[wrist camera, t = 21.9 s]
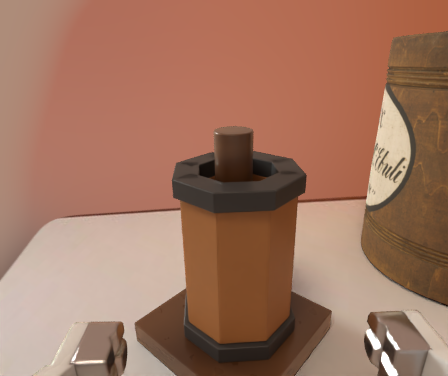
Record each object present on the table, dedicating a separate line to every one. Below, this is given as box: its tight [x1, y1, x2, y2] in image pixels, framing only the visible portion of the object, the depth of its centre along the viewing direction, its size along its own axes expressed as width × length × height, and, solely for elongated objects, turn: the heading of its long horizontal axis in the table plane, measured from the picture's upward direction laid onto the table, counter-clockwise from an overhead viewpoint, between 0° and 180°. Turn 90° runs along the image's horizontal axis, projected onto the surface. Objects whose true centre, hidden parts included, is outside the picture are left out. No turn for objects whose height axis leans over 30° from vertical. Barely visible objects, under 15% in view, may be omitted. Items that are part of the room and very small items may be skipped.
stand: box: [135, 126, 332, 376], centre depth 19 cm, size 9×9×14 cm
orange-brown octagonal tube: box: [172, 151, 306, 363], centre depth 19 cm, size 7×7×10 cm
